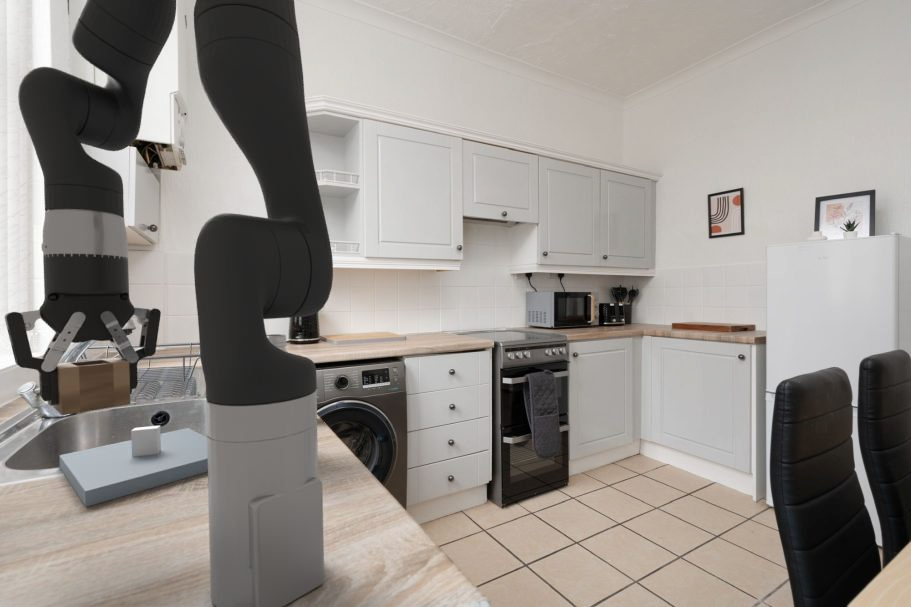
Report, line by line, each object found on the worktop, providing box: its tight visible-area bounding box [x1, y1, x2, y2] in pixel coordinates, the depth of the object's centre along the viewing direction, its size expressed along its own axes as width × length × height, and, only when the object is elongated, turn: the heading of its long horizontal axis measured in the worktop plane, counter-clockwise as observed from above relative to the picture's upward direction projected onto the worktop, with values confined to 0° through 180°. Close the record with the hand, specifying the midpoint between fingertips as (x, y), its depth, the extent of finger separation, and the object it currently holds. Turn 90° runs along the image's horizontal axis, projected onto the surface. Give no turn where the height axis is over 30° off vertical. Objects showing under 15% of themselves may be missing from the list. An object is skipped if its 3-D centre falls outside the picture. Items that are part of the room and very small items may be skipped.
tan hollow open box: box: [52, 357, 131, 416], centre depth 51 cm, size 6×6×5 cm
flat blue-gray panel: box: [59, 425, 208, 508], centre depth 68 cm, size 20×18×6 cm
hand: (92, 398), depth 51 cm, fingers closed on tan hollow open box, 6 cm apart
